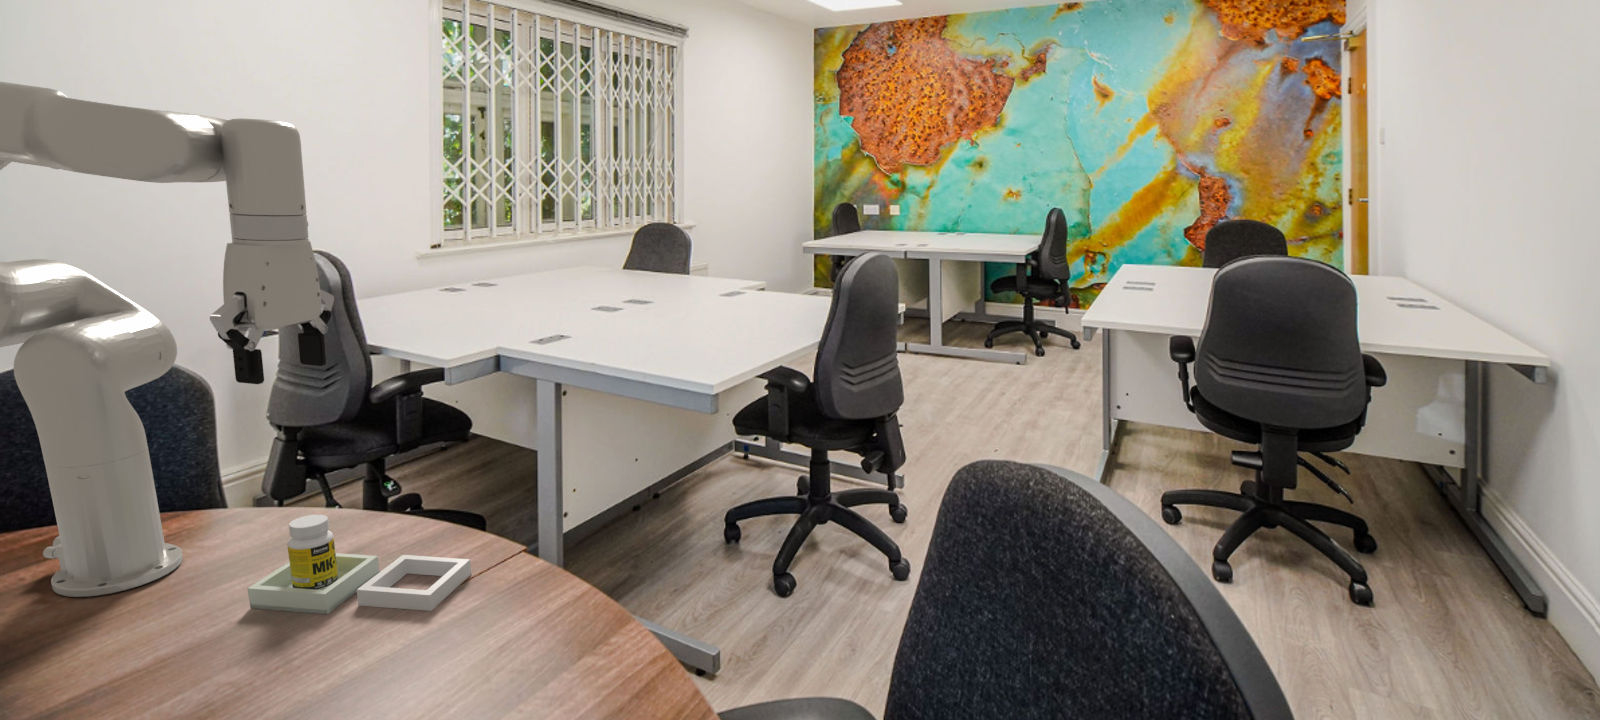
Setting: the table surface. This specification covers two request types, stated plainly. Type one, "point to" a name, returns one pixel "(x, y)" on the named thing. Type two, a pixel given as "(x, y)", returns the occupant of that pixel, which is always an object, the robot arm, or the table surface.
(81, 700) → the table surface
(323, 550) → the supplement bottle
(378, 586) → the collar holder
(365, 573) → the tray
